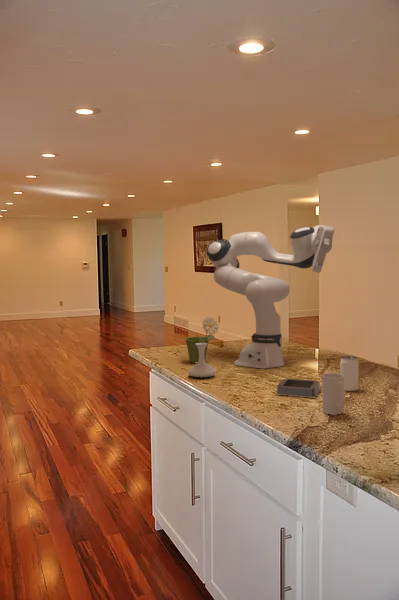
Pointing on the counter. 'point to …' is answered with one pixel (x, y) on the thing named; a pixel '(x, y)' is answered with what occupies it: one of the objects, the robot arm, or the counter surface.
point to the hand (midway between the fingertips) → (323, 256)
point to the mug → (333, 393)
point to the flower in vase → (202, 367)
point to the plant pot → (195, 348)
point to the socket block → (298, 388)
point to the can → (349, 372)
